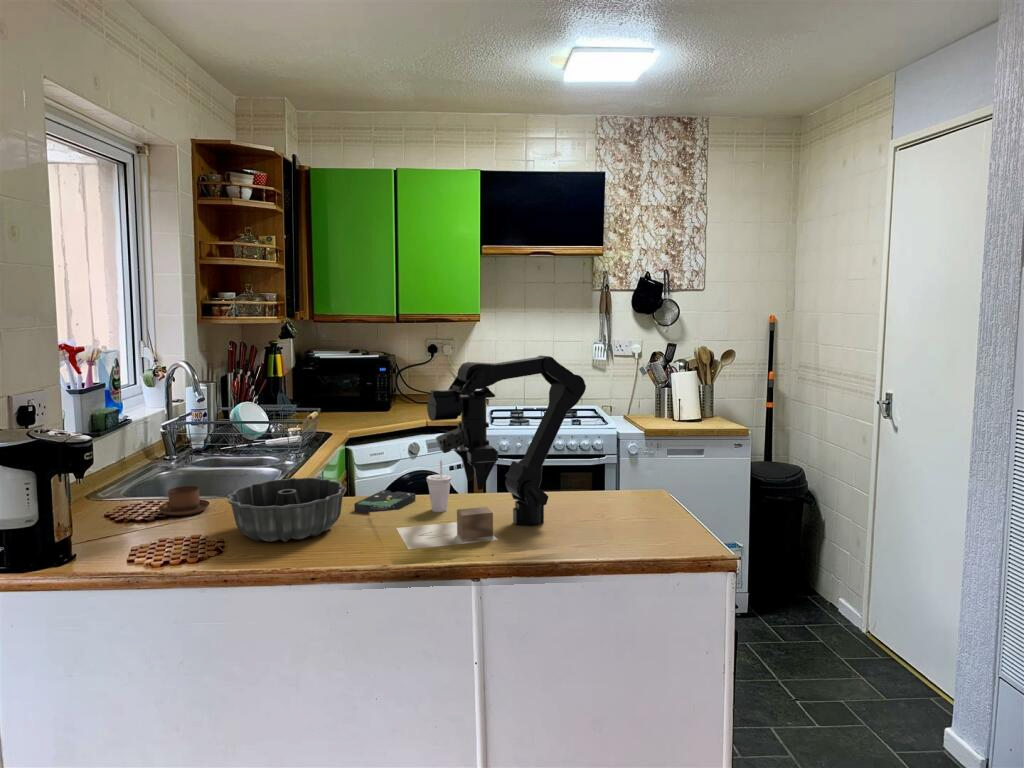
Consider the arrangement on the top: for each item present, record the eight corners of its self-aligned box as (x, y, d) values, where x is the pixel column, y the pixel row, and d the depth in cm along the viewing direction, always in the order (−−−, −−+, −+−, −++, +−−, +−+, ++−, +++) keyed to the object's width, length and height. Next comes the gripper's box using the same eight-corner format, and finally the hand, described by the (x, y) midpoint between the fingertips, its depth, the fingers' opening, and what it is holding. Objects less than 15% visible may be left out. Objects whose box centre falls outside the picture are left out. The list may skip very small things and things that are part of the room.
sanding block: (487, 532, 170) (486, 506, 169) (493, 538, 165) (493, 512, 164) (457, 535, 168) (456, 509, 167) (462, 542, 163) (462, 515, 162)
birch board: (478, 524, 180) (478, 519, 179) (497, 544, 164) (497, 539, 164) (396, 533, 173) (396, 528, 173) (408, 554, 158) (408, 549, 158)
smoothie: (450, 517, 185) (450, 463, 184) (425, 517, 186) (424, 463, 184) (453, 510, 192) (452, 457, 190) (428, 510, 192) (427, 457, 190)
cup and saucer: (148, 516, 189) (147, 493, 188) (183, 504, 200) (181, 482, 199) (186, 521, 185) (185, 496, 184) (219, 508, 196) (218, 485, 196)
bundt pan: (245, 558, 157) (243, 512, 156) (217, 527, 179) (215, 487, 178) (362, 536, 172) (361, 494, 171) (323, 510, 194) (322, 472, 193)
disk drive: (382, 499, 206) (353, 513, 192) (382, 489, 205) (353, 502, 191) (416, 502, 202) (388, 517, 188) (416, 492, 202) (388, 506, 188)
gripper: (430, 413, 174) (431, 478, 176) (448, 426, 157) (449, 498, 158) (476, 411, 178) (476, 475, 179) (498, 423, 160) (499, 493, 162)
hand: (474, 485), depth 170 cm, fingers open, 9 cm apart
